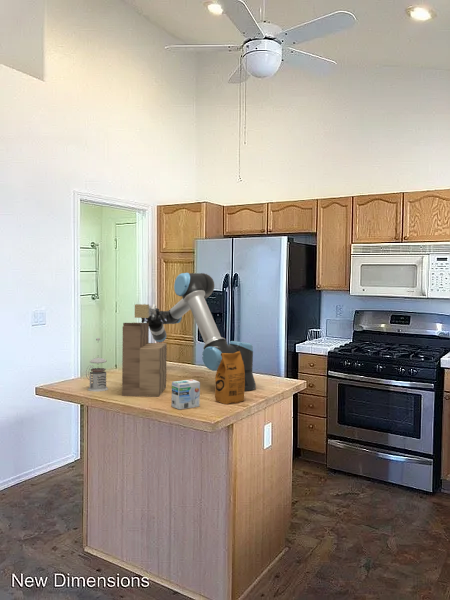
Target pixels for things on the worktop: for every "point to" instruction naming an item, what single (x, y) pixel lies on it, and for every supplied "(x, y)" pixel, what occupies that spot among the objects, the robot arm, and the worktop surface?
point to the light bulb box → (185, 394)
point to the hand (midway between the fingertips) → (149, 306)
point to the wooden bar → (143, 310)
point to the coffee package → (230, 379)
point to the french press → (97, 375)
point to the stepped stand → (142, 362)
